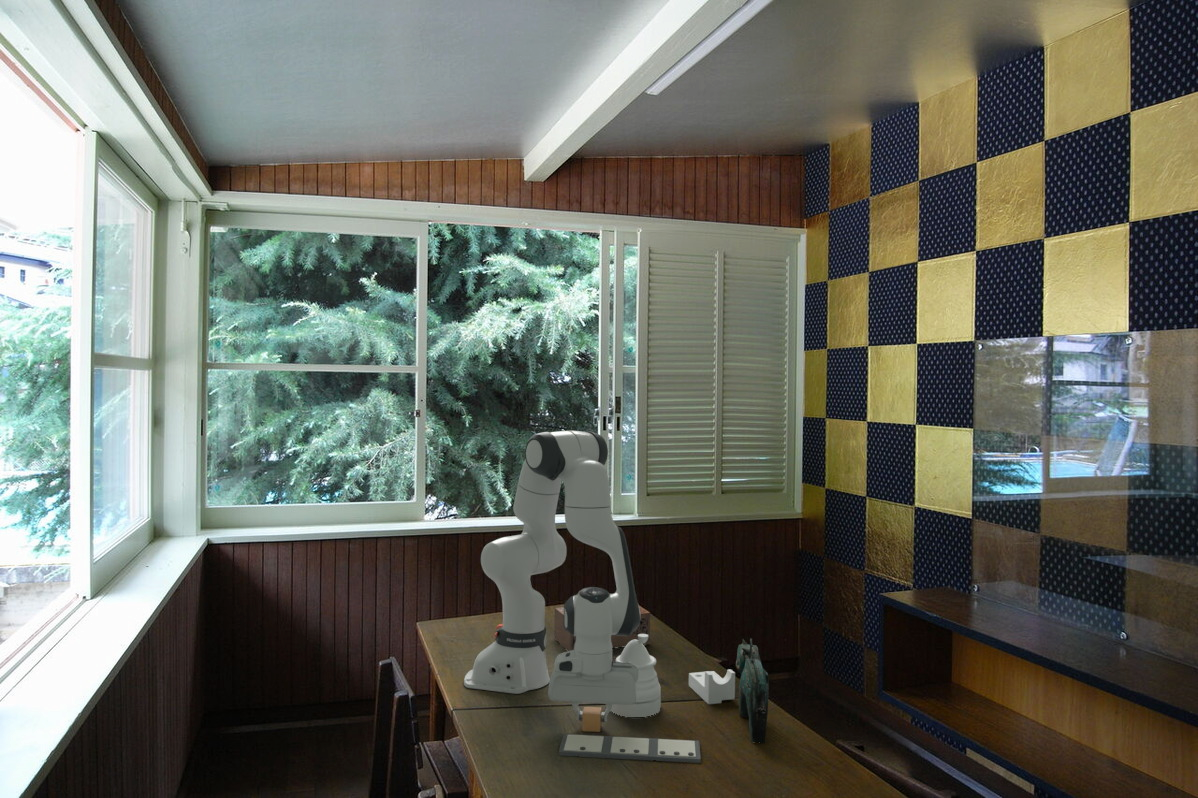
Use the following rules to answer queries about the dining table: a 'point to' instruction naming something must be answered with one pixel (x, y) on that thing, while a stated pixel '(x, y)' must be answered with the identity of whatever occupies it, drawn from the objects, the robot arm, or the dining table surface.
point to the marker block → (591, 719)
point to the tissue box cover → (616, 641)
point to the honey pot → (641, 681)
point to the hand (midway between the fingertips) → (591, 720)
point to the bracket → (713, 686)
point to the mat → (630, 748)
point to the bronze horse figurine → (753, 690)
